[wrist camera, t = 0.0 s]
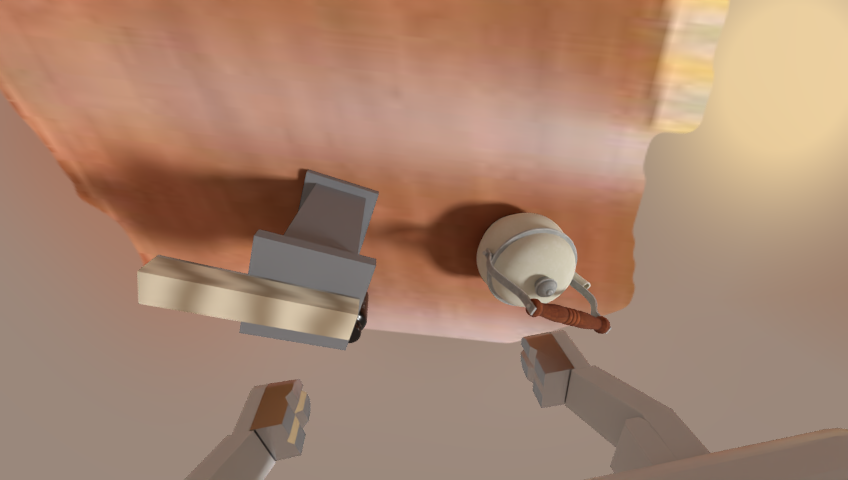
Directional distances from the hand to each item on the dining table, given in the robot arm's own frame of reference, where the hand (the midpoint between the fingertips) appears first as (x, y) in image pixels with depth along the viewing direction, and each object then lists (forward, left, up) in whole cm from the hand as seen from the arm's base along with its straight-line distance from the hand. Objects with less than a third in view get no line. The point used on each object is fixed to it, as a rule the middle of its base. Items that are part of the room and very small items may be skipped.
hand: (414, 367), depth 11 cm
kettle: (+26, +24, -48) cm, 60 cm away
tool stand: (+12, -13, -48) cm, 51 cm away
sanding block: (+10, -17, -22) cm, 29 cm away
